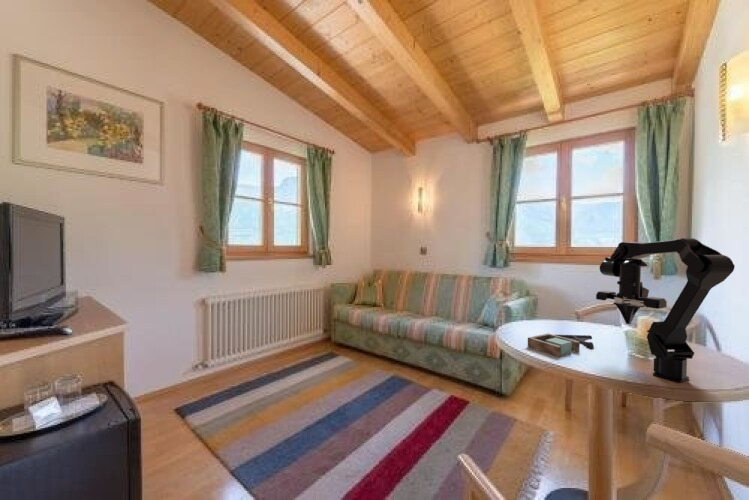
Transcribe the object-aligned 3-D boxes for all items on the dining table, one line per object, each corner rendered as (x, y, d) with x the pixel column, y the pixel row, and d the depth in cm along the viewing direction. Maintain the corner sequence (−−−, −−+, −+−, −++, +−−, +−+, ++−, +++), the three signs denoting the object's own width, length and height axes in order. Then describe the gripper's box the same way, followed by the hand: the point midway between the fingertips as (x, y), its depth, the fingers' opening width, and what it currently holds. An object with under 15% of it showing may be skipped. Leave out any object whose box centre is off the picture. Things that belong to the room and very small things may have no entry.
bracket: (571, 349, 125) (572, 342, 124) (553, 337, 139) (554, 331, 139) (612, 351, 123) (612, 344, 123) (589, 339, 138) (589, 332, 138)
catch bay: (579, 351, 121) (579, 341, 121) (558, 356, 115) (558, 346, 115) (548, 342, 132) (548, 333, 132) (527, 346, 126) (527, 337, 126)
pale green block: (571, 352, 120) (571, 341, 120) (561, 355, 117) (561, 344, 117) (555, 348, 125) (555, 337, 125) (545, 350, 122) (545, 339, 122)
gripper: (675, 280, 108) (673, 327, 109) (612, 274, 125) (611, 315, 125) (658, 282, 103) (657, 332, 104) (595, 276, 120) (594, 319, 120)
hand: (628, 324), depth 113 cm, fingers closed
